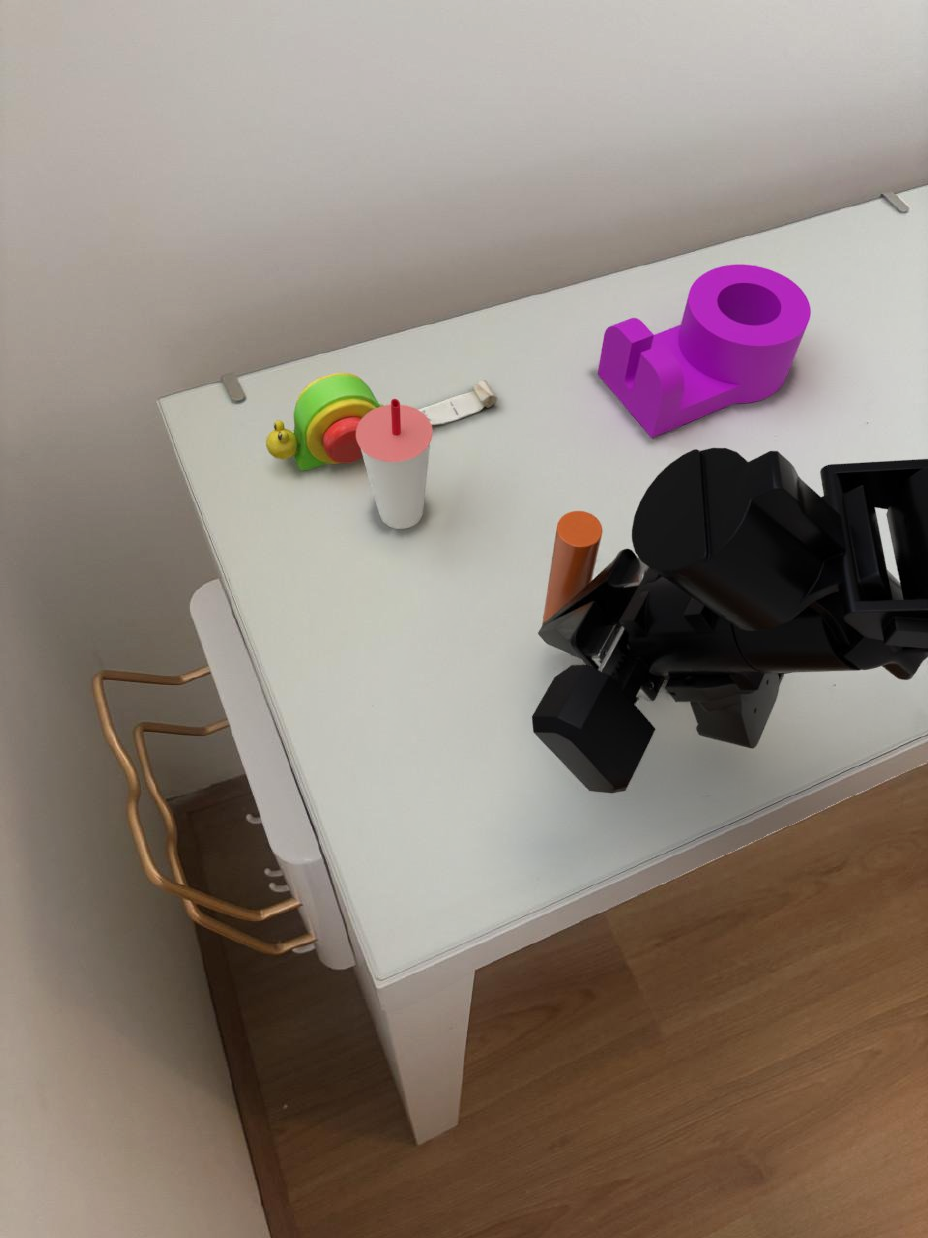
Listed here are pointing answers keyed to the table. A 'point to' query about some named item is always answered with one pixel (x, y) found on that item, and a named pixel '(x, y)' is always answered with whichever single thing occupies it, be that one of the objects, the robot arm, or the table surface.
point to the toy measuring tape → (351, 419)
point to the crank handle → (572, 559)
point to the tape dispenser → (708, 348)
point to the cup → (396, 461)
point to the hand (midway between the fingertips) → (544, 634)
